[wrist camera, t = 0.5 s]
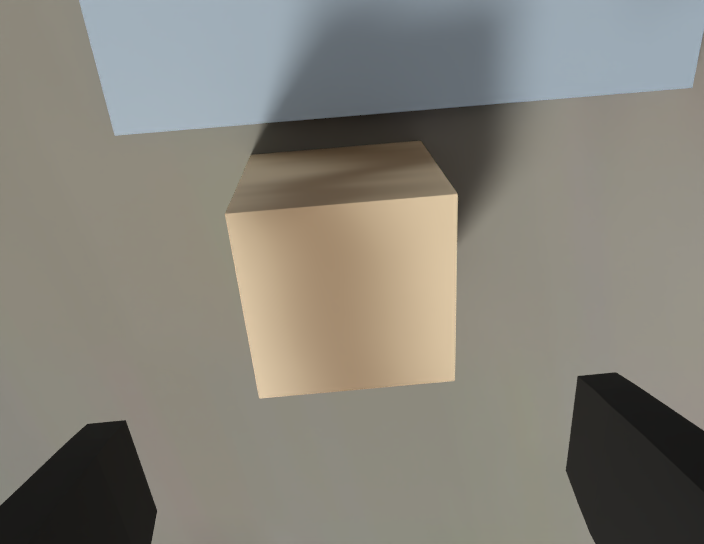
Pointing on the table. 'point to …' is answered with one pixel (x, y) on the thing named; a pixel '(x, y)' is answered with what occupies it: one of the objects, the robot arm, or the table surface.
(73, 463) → the robot arm
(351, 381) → the oak cube
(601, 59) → the board
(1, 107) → the table surface
